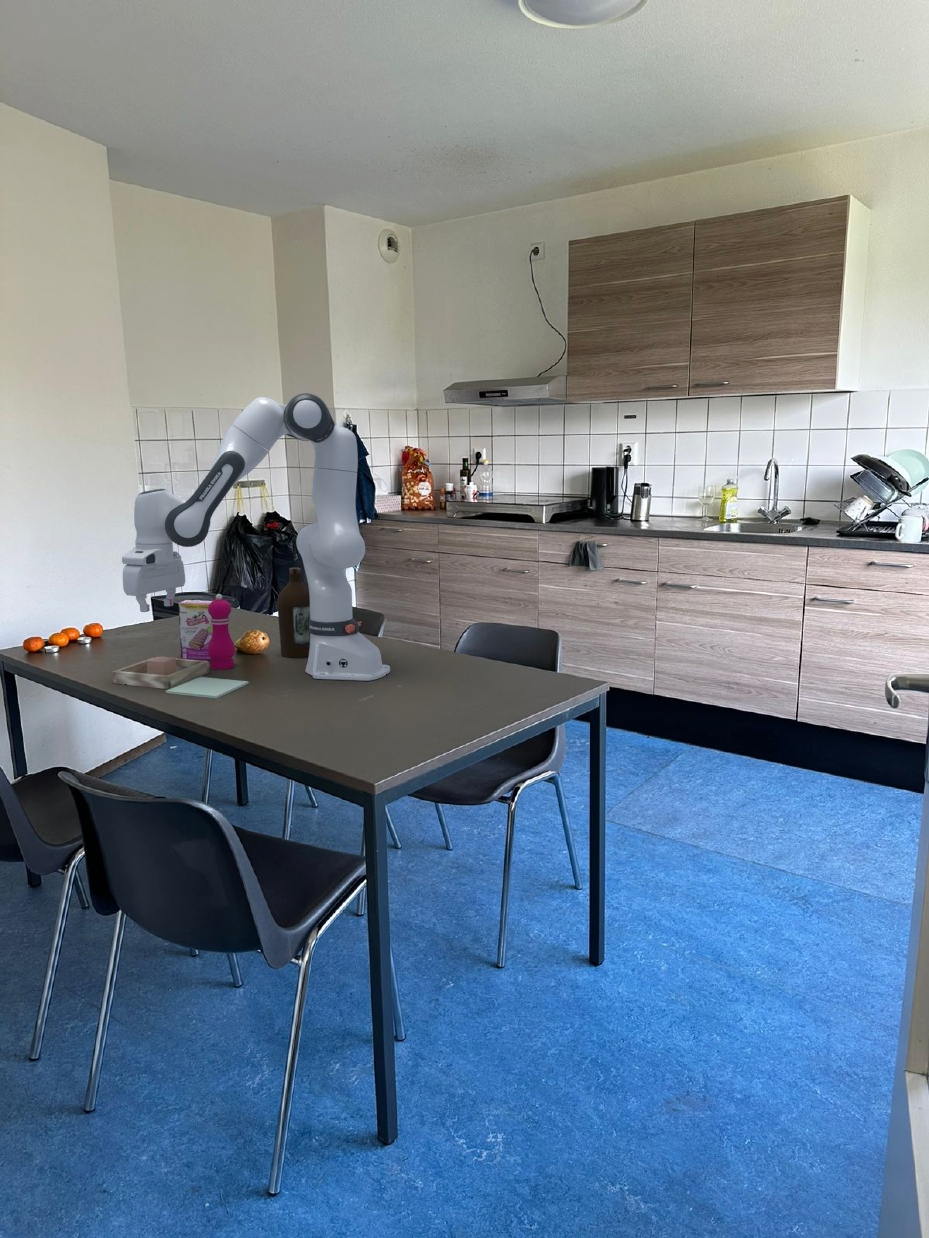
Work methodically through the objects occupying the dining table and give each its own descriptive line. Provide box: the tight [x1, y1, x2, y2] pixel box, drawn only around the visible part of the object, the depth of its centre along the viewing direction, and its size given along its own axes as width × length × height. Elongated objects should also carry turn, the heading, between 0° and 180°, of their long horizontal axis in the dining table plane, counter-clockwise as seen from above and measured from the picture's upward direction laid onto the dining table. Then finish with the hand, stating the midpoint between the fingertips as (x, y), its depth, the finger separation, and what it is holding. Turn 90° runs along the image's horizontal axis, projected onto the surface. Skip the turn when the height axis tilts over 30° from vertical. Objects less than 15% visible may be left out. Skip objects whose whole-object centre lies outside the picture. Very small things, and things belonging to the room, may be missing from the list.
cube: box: [146, 656, 177, 676], centre depth 222 cm, size 5×5×5 cm
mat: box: [165, 676, 249, 699], centre depth 213 cm, size 14×14×1 cm
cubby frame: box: [111, 656, 210, 690], centre depth 222 cm, size 16×17×3 cm
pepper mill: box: [208, 593, 236, 670], centre depth 232 cm, size 7×7×20 cm
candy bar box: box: [178, 599, 213, 662], centre depth 241 cm, size 11×5×16 cm, turn 84°
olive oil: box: [276, 567, 310, 659], centre depth 247 cm, size 11×11×25 cm
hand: (157, 608), depth 219 cm, fingers open, 8 cm apart
